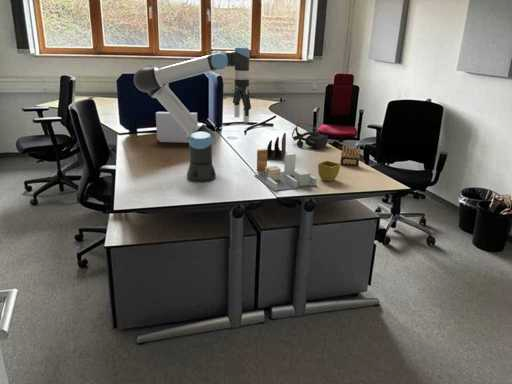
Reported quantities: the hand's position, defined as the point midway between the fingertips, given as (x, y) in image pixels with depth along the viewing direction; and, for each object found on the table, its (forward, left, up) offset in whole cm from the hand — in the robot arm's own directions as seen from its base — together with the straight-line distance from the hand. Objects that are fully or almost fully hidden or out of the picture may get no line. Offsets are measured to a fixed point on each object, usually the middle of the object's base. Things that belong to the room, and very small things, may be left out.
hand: (241, 119), depth 226 cm
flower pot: (+30, +38, -29) cm, 56 cm away
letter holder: (-20, +32, -29) cm, 48 cm away
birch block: (+14, +10, -28) cm, 33 cm away
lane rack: (+24, +16, -29) cm, 40 cm away
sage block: (+26, +21, -28) cm, 44 cm away
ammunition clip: (+12, +64, -29) cm, 71 cm away
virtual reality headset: (-37, +64, -29) cm, 80 cm away
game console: (-75, -18, -29) cm, 82 cm away
